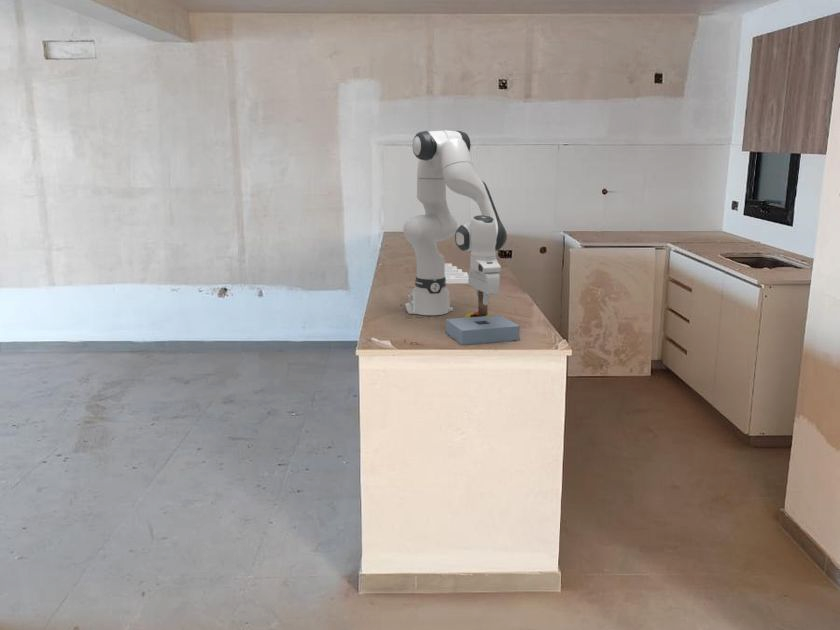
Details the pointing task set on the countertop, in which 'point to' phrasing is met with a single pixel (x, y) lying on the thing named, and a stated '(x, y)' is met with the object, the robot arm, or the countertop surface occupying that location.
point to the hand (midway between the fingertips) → (482, 303)
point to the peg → (481, 305)
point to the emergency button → (475, 315)
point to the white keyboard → (455, 274)
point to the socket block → (482, 329)
